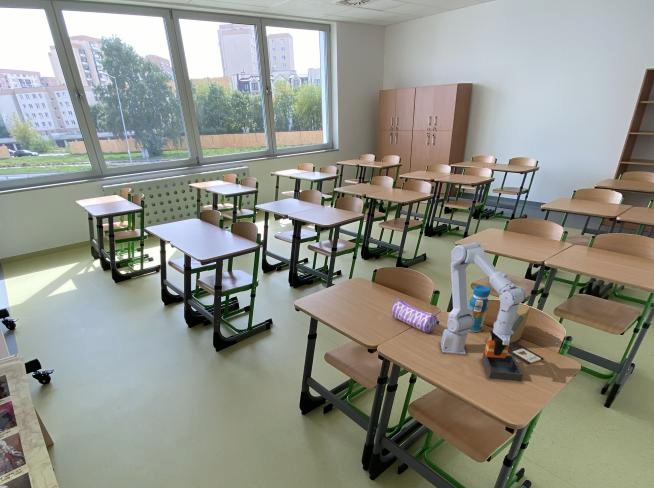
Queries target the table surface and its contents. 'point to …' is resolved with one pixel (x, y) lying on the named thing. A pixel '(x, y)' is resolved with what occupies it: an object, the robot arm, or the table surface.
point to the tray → (502, 368)
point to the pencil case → (414, 316)
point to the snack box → (490, 350)
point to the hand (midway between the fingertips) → (495, 352)
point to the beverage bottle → (479, 306)
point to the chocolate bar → (523, 353)
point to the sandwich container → (518, 323)
